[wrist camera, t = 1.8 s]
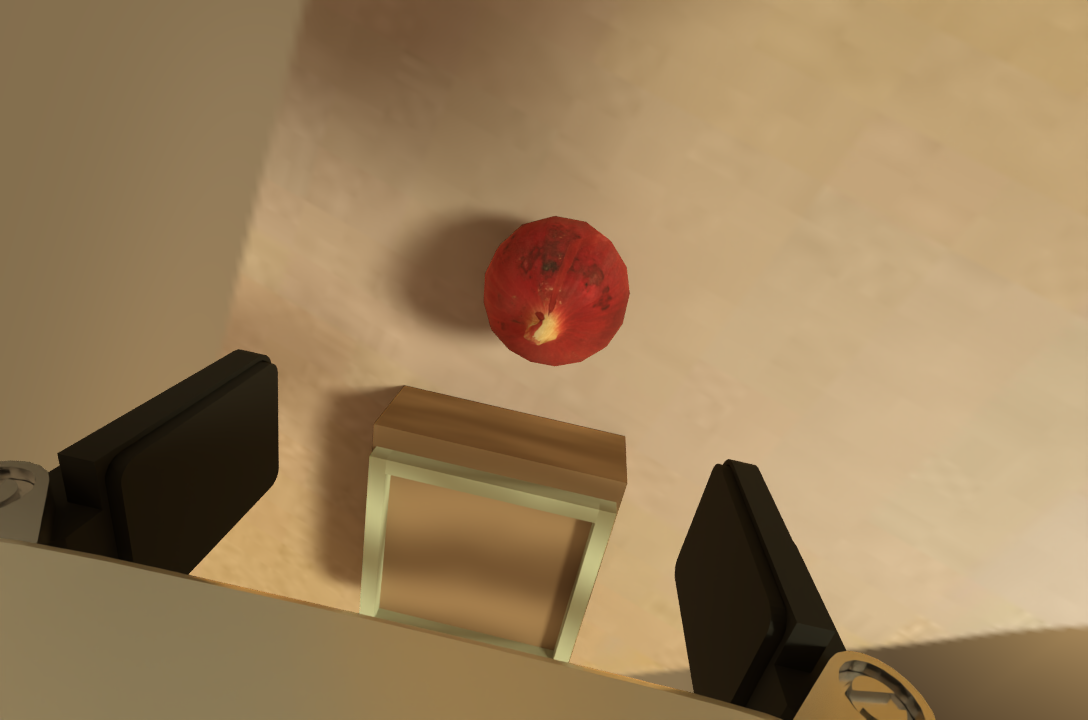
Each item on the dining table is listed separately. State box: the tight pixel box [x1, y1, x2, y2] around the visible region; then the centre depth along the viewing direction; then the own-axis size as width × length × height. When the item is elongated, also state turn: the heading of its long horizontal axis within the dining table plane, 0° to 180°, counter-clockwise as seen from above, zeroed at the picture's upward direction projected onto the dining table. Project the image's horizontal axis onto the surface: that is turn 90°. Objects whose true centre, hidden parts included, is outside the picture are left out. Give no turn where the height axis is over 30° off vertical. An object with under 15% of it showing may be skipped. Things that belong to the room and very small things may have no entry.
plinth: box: [359, 386, 627, 663], centre depth 29 cm, size 14×12×5 cm
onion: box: [484, 216, 630, 366], centre depth 21 cm, size 6×6×8 cm
